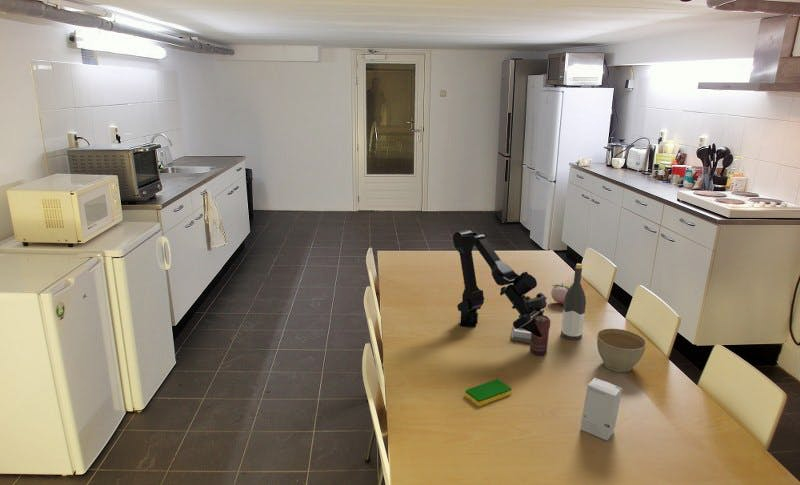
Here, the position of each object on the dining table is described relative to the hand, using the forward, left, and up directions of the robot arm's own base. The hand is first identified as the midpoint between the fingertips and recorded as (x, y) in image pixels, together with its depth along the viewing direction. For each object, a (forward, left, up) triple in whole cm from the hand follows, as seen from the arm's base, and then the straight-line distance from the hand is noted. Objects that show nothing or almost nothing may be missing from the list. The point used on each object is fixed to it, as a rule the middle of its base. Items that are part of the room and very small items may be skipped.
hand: (543, 334), depth 197 cm
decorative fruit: (+5, +51, -8) cm, 52 cm away
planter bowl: (+26, -1, -8) cm, 27 cm away
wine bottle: (+10, +19, -8) cm, 23 cm away
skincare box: (+18, -43, -8) cm, 47 cm away
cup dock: (-6, +14, -8) cm, 17 cm away
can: (-1, 0, -8) cm, 8 cm away
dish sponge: (-15, -34, -9) cm, 38 cm away
